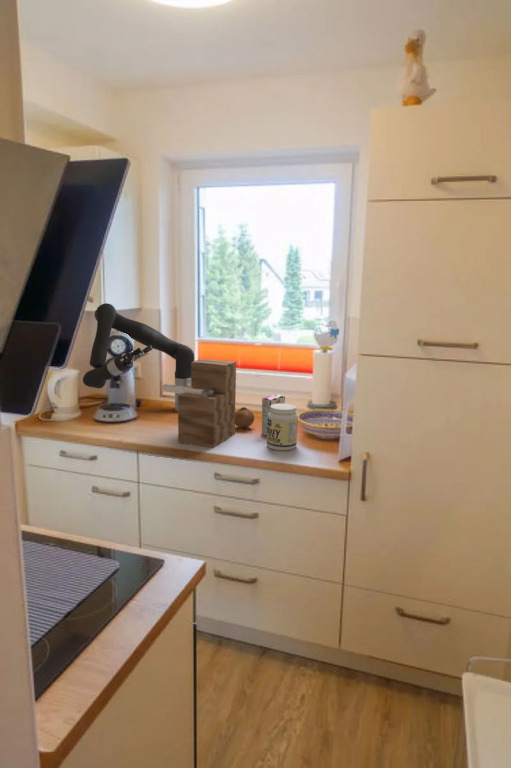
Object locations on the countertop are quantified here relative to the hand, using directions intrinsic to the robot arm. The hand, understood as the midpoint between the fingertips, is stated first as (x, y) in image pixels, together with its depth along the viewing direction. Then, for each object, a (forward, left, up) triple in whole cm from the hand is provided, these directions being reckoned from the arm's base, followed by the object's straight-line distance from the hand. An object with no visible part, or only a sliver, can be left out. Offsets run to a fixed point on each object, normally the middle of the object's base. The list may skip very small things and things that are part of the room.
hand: (146, 348), depth 222 cm
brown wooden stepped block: (+4, +32, -36) cm, 48 cm away
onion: (-17, +40, -36) cm, 56 cm away
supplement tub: (0, +64, -36) cm, 74 cm away
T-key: (+10, +26, -16) cm, 32 cm away
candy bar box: (-17, +54, -36) cm, 67 cm away
